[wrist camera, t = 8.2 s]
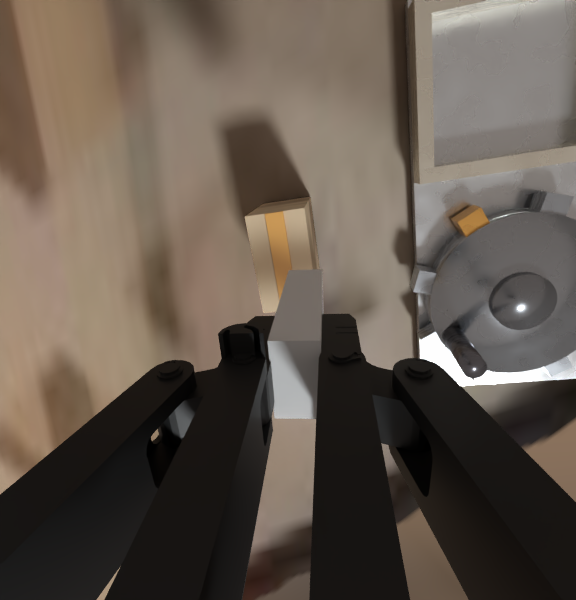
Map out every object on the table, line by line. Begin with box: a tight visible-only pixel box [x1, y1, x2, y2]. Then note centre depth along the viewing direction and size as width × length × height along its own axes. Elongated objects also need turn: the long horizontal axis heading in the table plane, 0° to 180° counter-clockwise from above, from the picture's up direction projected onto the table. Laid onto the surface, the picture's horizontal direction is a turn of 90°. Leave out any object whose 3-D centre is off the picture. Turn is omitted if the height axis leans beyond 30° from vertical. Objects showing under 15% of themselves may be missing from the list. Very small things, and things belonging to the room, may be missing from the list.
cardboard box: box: [245, 197, 320, 313], centre depth 28 cm, size 7×4×7 cm, turn 9°
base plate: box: [405, 0, 576, 386], centre depth 28 cm, size 30×14×3 cm, turn 9°
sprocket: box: [410, 190, 576, 385], centre depth 27 cm, size 16×16×7 cm
